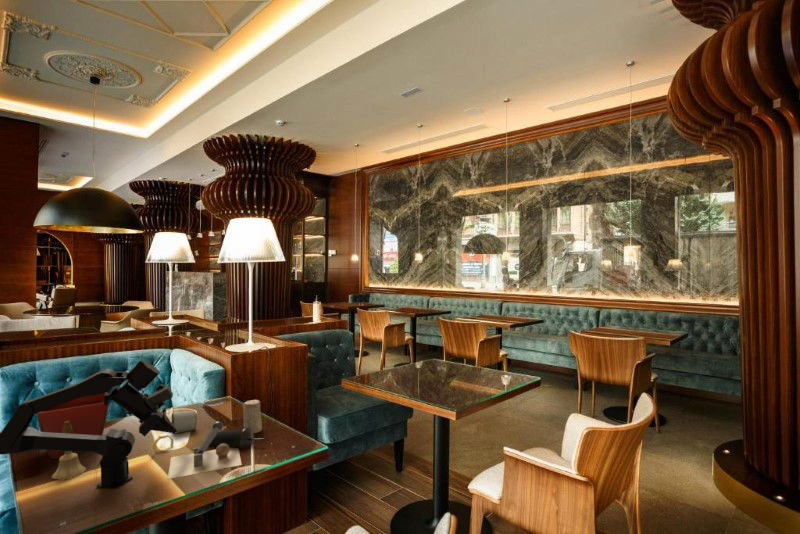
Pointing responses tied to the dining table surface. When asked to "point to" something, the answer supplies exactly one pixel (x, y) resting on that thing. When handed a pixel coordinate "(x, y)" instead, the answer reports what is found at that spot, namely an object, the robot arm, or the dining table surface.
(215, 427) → the lever
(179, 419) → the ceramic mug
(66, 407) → the plant pot
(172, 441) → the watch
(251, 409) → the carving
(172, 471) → the board
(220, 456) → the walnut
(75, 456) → the hand bell
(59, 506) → the dining table surface
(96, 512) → the dining table surface
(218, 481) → the dining table surface
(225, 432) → the drinking cup
